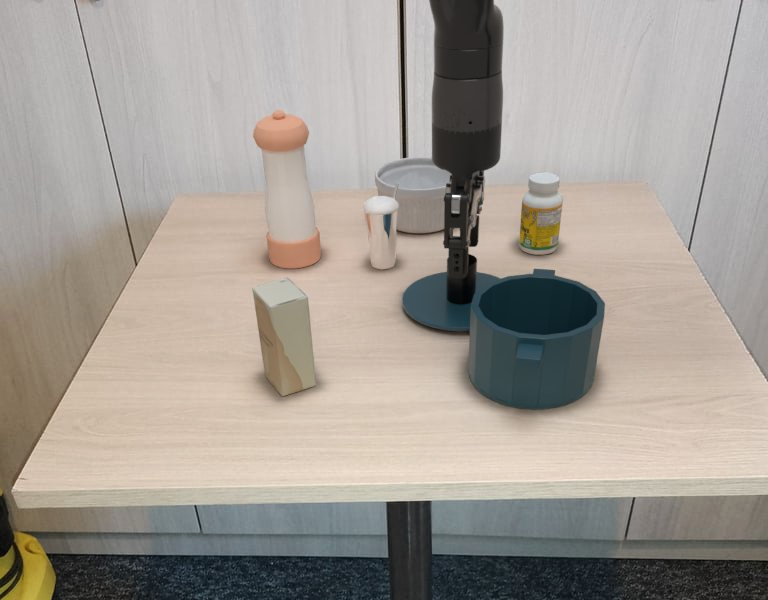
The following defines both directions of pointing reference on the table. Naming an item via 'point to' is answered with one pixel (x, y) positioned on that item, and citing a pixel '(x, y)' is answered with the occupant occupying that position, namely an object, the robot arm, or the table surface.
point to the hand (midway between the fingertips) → (463, 260)
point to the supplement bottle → (541, 214)
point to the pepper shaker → (287, 191)
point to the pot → (534, 340)
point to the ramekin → (415, 192)
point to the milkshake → (382, 229)
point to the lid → (445, 298)
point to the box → (285, 335)
